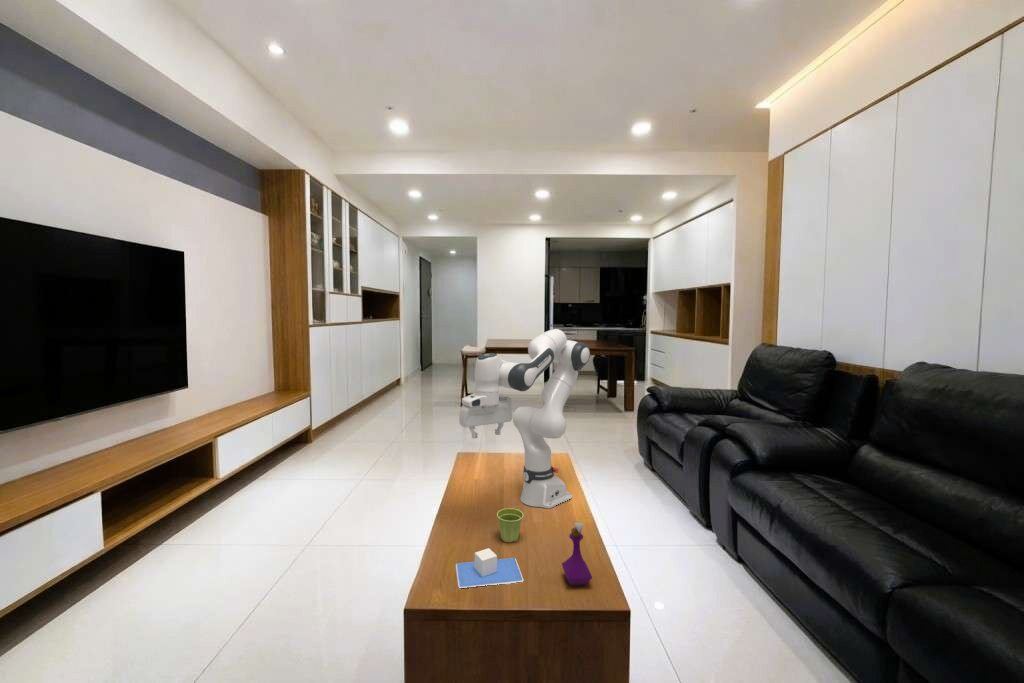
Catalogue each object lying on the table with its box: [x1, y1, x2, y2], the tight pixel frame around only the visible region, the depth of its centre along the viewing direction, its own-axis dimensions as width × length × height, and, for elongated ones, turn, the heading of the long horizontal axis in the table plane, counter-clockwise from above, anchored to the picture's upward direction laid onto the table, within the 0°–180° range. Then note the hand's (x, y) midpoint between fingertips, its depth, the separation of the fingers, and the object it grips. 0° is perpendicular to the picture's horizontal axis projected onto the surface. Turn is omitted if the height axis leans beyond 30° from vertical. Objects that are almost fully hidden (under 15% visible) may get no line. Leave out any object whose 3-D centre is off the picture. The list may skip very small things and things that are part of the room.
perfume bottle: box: [561, 522, 593, 586], centre depth 126 cm, size 8×8×18 cm
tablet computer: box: [455, 557, 524, 589], centre depth 130 cm, size 19×13×1 cm, turn 102°
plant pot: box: [496, 507, 524, 543], centre depth 150 cm, size 9×9×9 cm
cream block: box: [474, 547, 498, 577], centre depth 130 cm, size 5×5×5 cm
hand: (486, 436), depth 155 cm, fingers open, 8 cm apart
